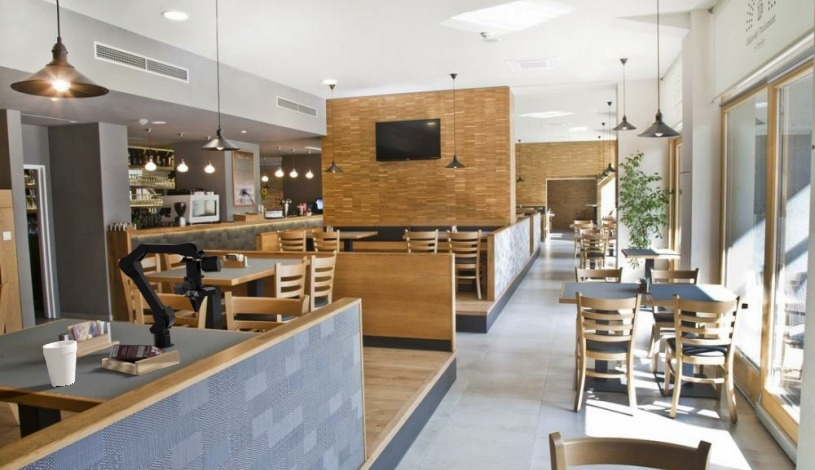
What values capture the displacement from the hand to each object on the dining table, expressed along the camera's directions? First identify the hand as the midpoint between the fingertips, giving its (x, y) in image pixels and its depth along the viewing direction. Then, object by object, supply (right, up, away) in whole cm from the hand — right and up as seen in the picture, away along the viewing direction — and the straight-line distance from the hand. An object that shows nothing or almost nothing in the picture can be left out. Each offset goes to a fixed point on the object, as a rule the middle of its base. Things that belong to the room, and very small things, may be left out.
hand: (196, 312), depth 228 cm
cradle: (-11, -15, -25) cm, 31 cm away
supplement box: (-19, -11, -25) cm, 33 cm away
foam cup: (-27, -17, -43) cm, 54 cm away
